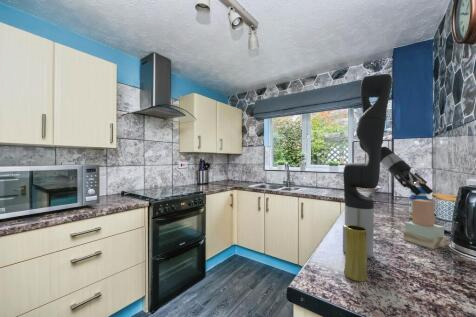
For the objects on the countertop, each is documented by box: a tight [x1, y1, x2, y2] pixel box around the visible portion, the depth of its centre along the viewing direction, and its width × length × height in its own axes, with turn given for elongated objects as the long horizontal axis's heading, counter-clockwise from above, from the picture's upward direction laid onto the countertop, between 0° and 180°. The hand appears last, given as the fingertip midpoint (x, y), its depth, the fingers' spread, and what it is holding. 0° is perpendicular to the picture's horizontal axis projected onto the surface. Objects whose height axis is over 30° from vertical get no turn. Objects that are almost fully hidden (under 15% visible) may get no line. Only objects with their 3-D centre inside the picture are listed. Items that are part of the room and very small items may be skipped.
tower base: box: [403, 230, 448, 250], centre depth 86 cm, size 10×10×4 cm
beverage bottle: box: [408, 186, 430, 222], centre depth 110 cm, size 8×8×20 cm
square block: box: [412, 199, 435, 227], centre depth 86 cm, size 5×5×10 cm
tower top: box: [404, 221, 445, 239], centre depth 86 cm, size 9×9×4 cm
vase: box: [343, 225, 369, 282], centre depth 60 cm, size 6×6×14 cm
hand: (425, 193), depth 85 cm, fingers open, 8 cm apart
